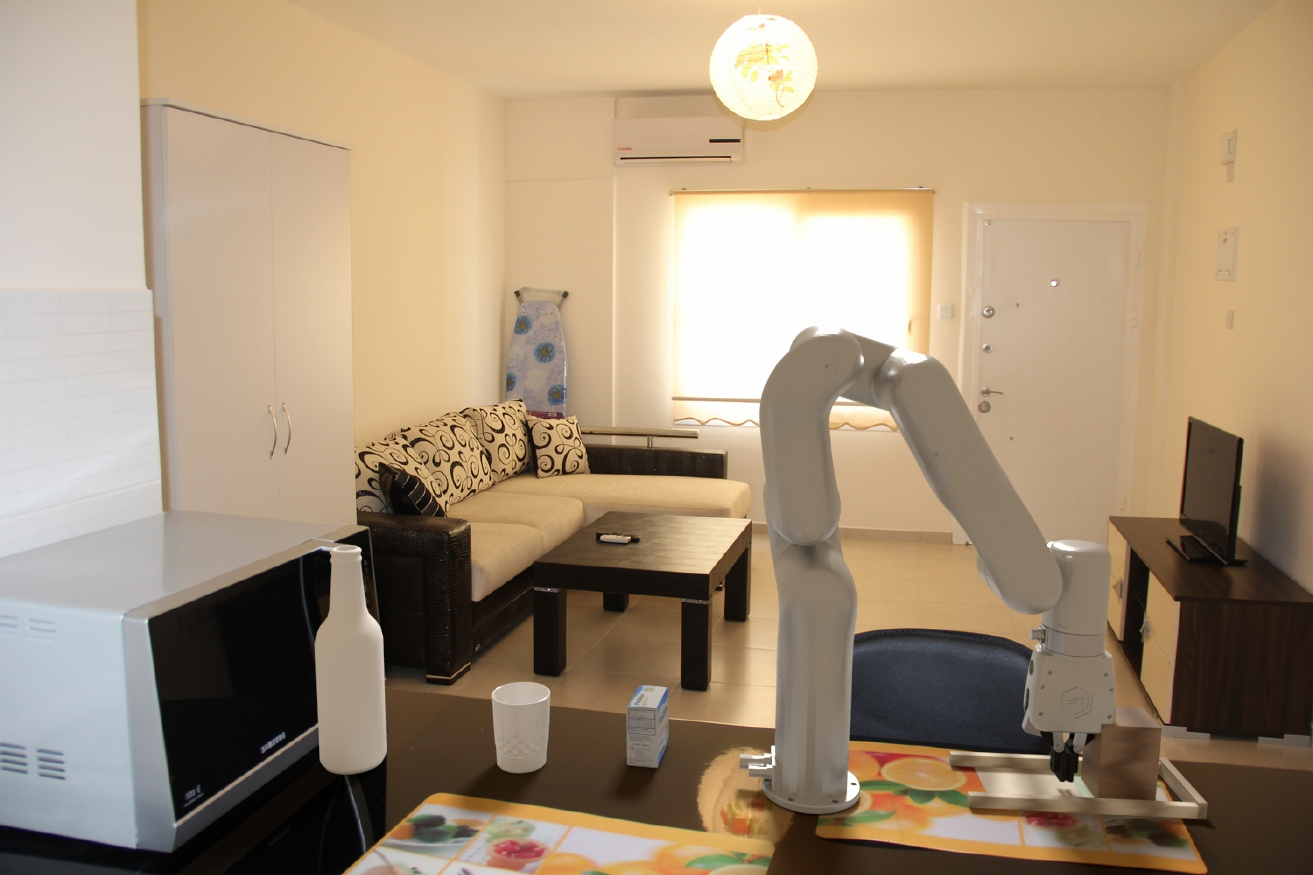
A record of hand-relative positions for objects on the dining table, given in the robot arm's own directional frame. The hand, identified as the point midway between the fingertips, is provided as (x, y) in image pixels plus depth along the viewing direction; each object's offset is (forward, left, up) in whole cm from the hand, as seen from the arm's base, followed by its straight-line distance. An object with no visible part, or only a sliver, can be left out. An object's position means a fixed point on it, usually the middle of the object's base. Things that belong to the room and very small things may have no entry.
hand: (1063, 776), depth 126 cm
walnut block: (+7, 0, -2) cm, 7 cm away
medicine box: (-54, +7, -3) cm, 55 cm away
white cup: (-71, +3, -3) cm, 71 cm away
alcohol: (-94, +1, -3) cm, 94 cm away
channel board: (+1, 0, -3) cm, 3 cm away
